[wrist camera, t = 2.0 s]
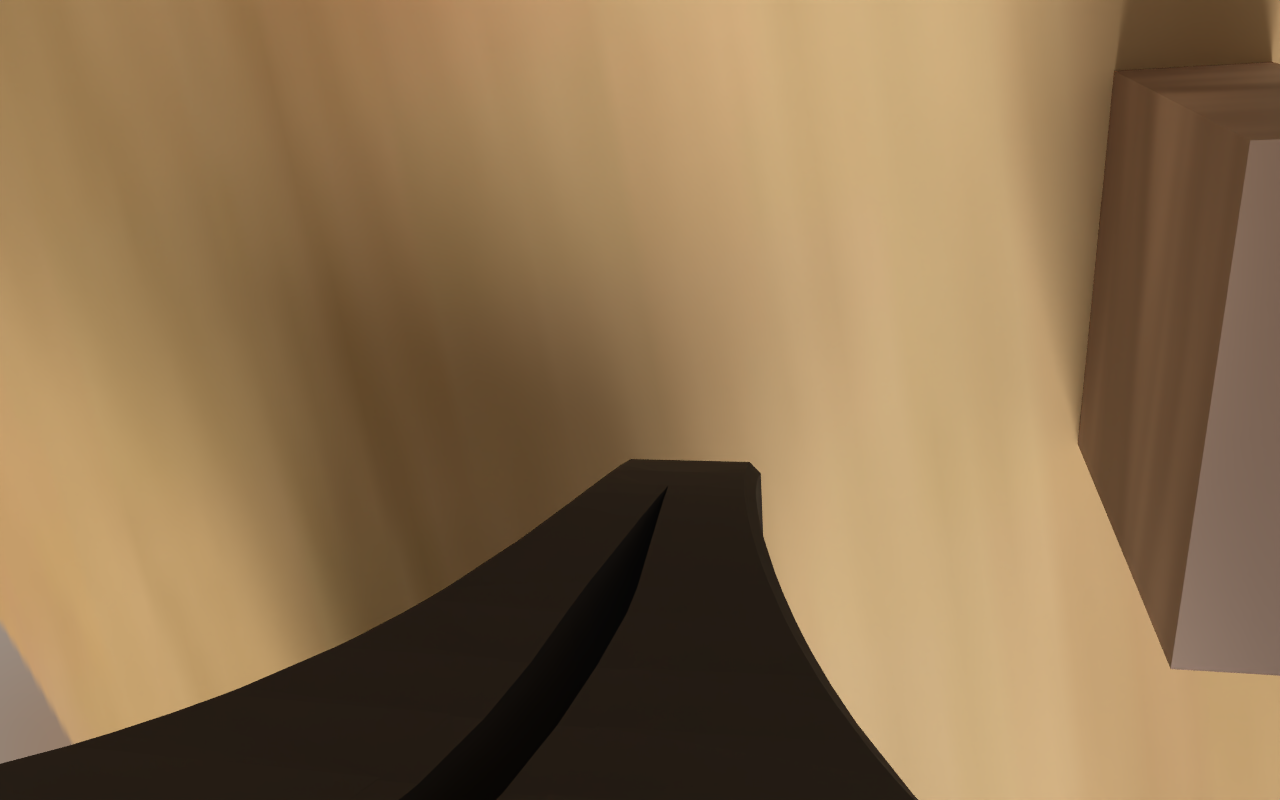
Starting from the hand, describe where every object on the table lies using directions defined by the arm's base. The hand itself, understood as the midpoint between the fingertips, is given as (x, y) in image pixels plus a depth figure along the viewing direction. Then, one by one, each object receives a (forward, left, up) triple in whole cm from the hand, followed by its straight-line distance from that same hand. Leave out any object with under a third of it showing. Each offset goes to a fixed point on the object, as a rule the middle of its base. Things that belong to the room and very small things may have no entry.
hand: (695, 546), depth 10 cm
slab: (+7, 0, -11) cm, 13 cm away
